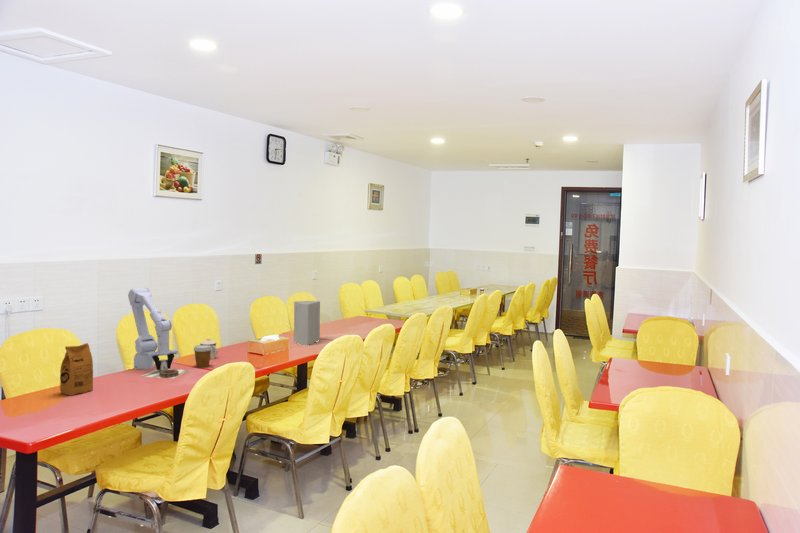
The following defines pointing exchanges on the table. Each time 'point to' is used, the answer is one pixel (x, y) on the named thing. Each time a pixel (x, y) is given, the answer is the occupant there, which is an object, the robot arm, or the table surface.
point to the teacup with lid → (213, 346)
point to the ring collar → (168, 373)
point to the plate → (156, 375)
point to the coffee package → (76, 370)
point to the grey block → (306, 322)
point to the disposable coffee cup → (202, 355)
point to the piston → (163, 365)
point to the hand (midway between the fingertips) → (163, 369)
